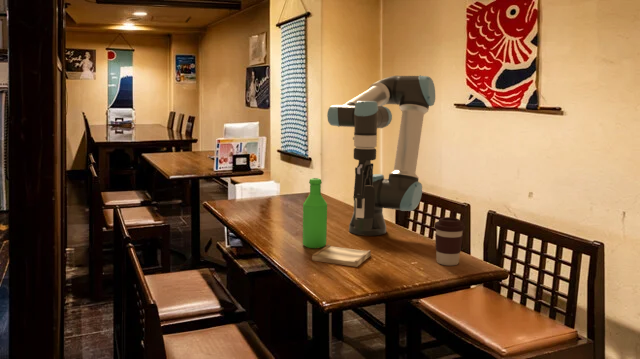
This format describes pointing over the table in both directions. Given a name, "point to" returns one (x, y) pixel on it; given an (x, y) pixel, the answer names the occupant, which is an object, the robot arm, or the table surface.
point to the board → (341, 256)
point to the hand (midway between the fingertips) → (363, 215)
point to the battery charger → (368, 202)
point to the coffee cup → (448, 240)
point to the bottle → (315, 217)
